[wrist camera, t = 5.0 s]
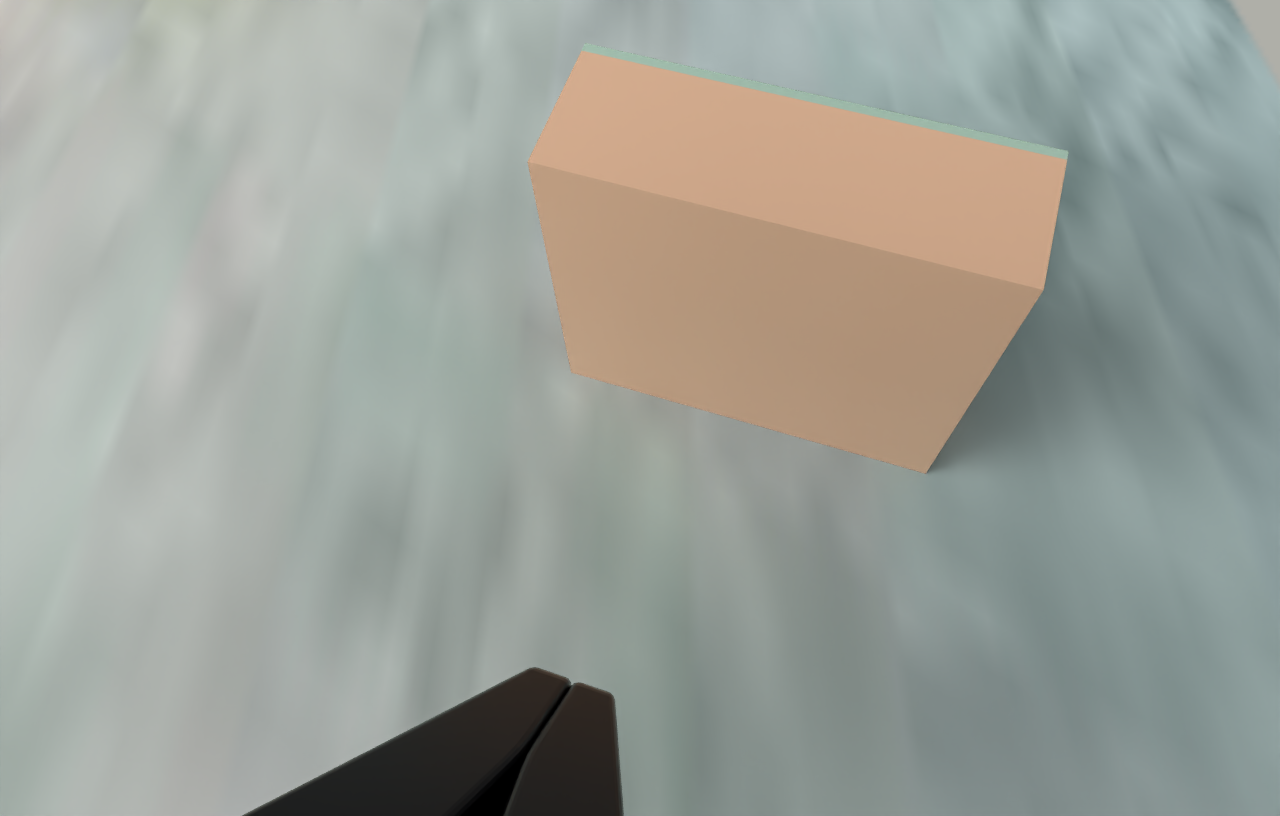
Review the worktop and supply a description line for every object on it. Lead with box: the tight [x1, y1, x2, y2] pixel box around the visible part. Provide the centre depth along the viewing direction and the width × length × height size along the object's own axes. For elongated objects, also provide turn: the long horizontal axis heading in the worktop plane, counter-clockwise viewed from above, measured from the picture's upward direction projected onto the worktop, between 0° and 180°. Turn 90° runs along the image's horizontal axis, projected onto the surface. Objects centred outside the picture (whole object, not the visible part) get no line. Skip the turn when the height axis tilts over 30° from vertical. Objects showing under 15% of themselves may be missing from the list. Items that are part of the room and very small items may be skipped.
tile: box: [528, 43, 1069, 474], centre depth 20 cm, size 3×9×8 cm, turn 72°
